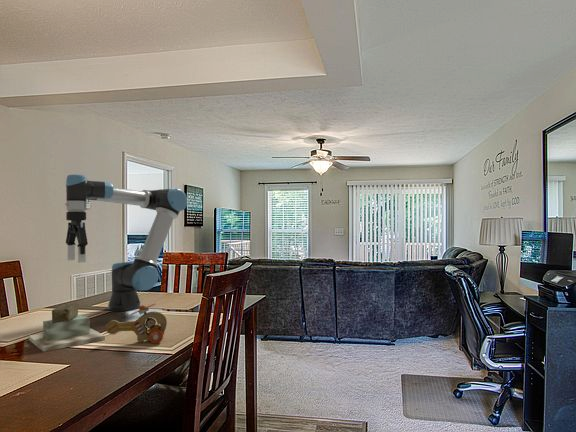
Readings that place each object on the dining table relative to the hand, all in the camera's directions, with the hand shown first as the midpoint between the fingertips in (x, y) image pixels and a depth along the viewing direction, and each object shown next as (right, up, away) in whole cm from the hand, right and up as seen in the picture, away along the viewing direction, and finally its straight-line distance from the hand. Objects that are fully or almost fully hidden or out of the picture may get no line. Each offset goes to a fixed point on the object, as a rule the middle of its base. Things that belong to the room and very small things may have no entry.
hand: (76, 261), depth 175 cm
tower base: (+8, -26, -23) cm, 36 cm away
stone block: (+8, -19, -23) cm, 31 cm away
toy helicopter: (+36, -26, -26) cm, 52 cm away
